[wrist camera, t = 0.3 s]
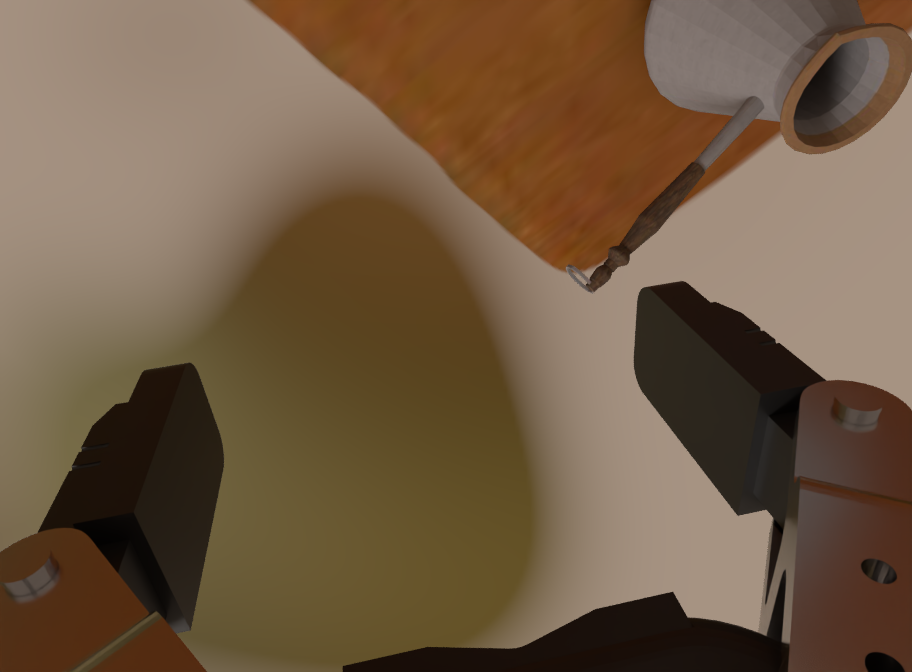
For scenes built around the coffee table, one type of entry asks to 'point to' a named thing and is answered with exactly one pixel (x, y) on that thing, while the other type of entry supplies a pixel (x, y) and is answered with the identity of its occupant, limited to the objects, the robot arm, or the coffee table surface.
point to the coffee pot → (765, 82)
